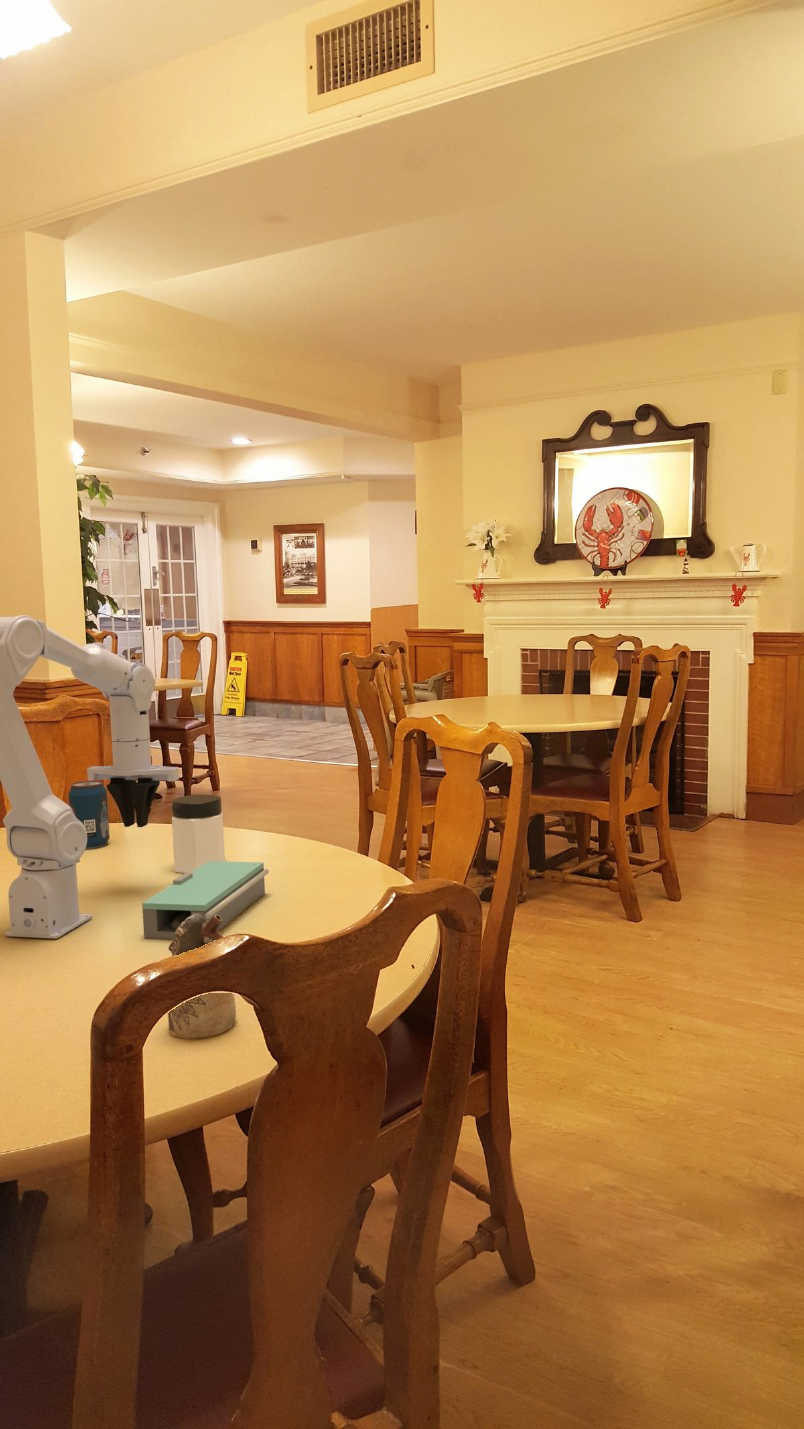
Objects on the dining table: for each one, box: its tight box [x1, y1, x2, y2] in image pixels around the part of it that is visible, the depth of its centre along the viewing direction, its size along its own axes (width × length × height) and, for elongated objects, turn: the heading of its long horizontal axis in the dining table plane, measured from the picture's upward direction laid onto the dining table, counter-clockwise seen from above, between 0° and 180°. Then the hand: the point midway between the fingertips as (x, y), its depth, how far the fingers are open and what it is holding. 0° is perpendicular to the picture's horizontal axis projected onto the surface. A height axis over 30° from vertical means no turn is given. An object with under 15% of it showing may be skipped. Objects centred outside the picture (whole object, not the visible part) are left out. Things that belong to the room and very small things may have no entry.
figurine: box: [167, 914, 237, 1040], centre depth 105 cm, size 7×7×12 cm
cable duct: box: [142, 867, 270, 940], centre depth 143 cm, size 22×10×4 cm, turn 167°
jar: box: [171, 794, 226, 874], centre depth 169 cm, size 9×8×12 cm
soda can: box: [68, 780, 111, 850], centre depth 187 cm, size 7×7×12 cm
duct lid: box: [141, 861, 265, 911], centre depth 143 cm, size 22×9×1 cm, turn 167°
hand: (135, 825), depth 156 cm, fingers closed
